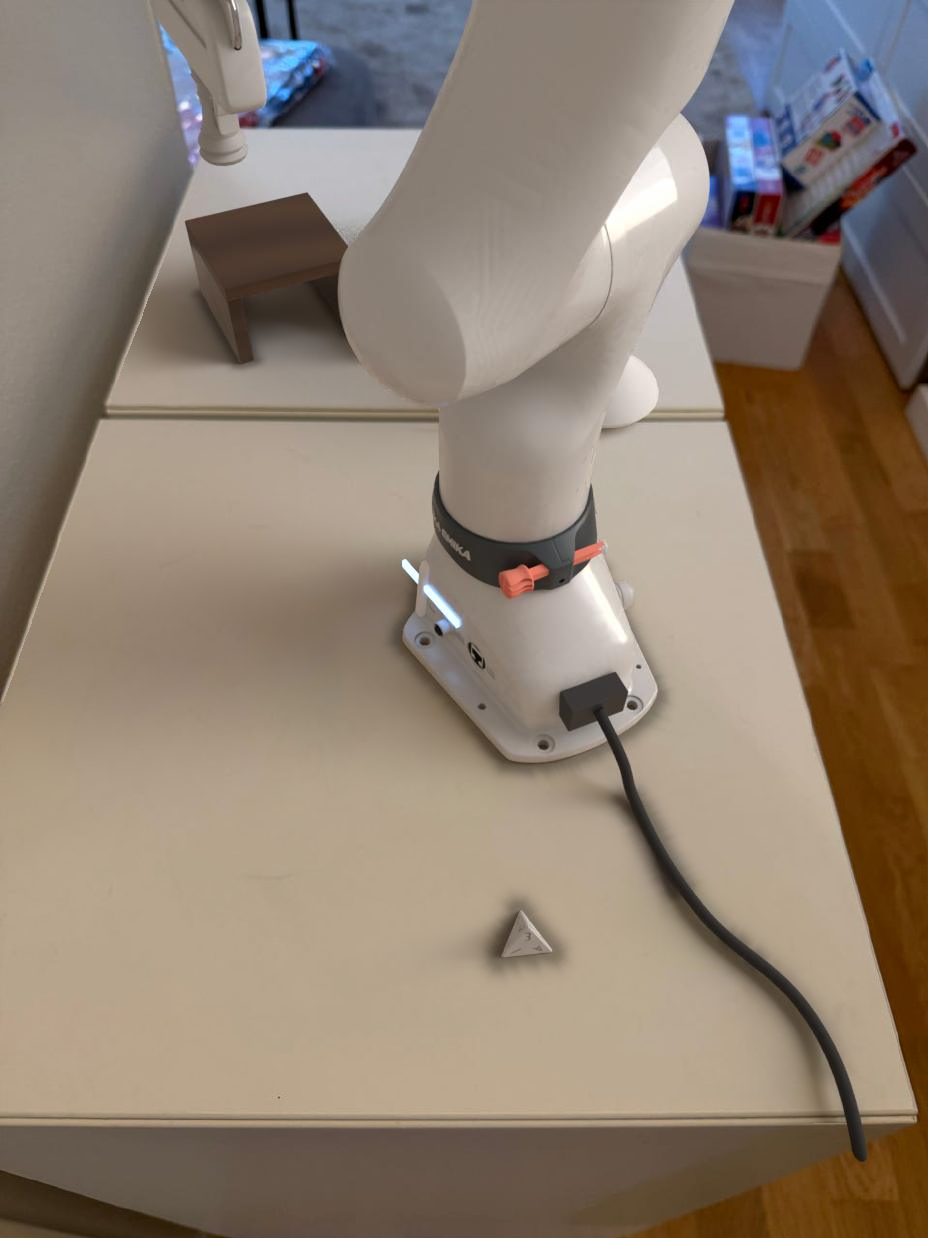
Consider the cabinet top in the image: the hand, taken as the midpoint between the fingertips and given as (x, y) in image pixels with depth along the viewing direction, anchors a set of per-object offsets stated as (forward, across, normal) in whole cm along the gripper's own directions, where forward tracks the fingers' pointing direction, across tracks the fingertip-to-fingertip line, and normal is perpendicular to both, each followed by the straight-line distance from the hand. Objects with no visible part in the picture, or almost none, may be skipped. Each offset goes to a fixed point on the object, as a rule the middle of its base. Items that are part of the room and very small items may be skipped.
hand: (220, 120), depth 82 cm
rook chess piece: (+3, 0, 0) cm, 3 cm away
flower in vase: (+23, -24, -28) cm, 44 cm away
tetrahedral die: (+23, -70, +6) cm, 74 cm away
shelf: (+24, +4, -4) cm, 24 cm away
